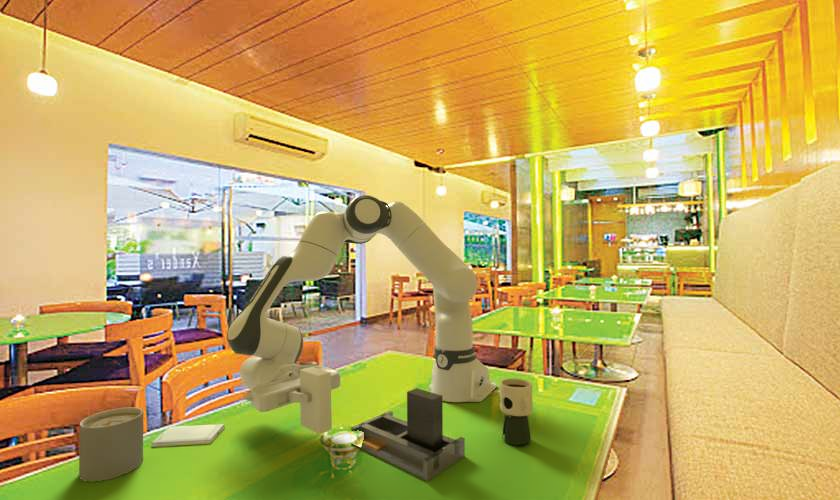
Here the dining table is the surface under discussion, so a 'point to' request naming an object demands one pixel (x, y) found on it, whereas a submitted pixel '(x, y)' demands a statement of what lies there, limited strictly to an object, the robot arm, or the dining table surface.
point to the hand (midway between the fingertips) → (317, 395)
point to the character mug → (516, 409)
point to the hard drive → (188, 435)
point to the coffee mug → (110, 443)
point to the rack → (413, 437)
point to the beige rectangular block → (316, 399)
